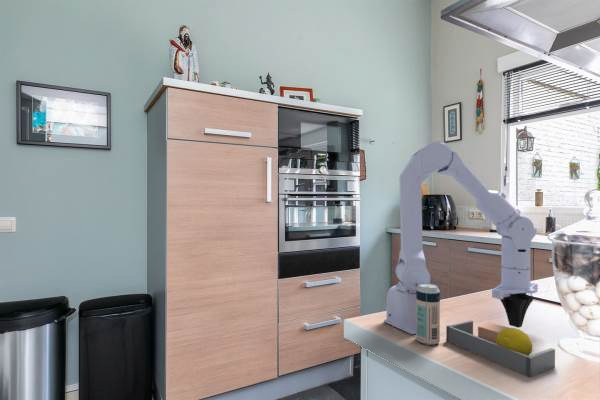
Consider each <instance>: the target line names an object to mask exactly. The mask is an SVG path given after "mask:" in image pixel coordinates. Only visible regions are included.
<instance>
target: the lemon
mask: <svg viewBox="0 0 600 400" xmlns="http://www.w3.org/2000/svg"><path fill="white" fill-rule="evenodd" d="M496 340H497V342H496V344H498V345H501V346H503V347H506V348H509V349H511V350H514V351H516V352H519V353H522V354H524V355H527V356H530V355H532V352H533V342H532V339H531V338H530V337H529V336H528V334H527V333H525V331H523V330H520V329H519V328H517V327H508V328H506V329H503V330H501V331H500V332H499V333H498V335H497V339H496Z"/></svg>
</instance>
